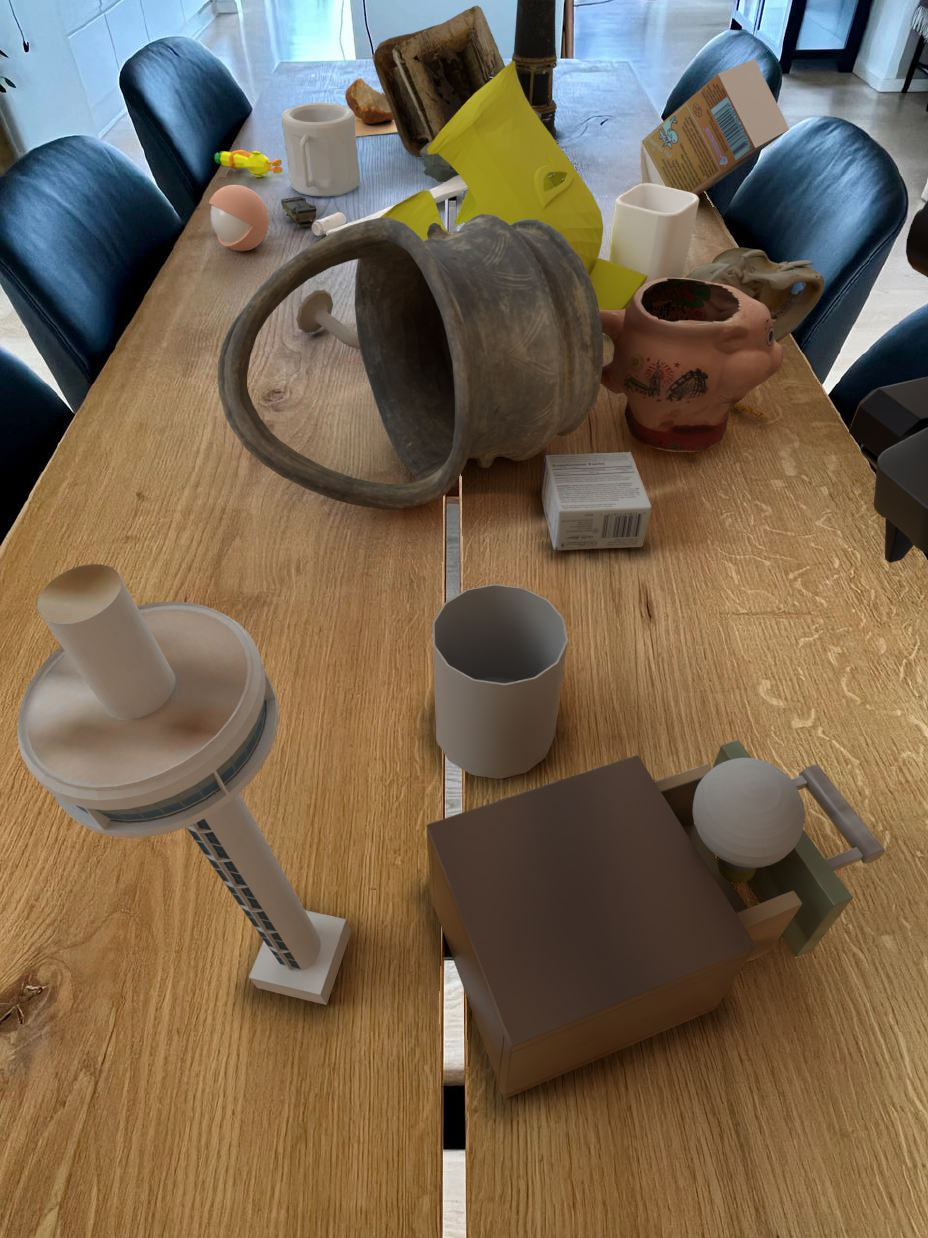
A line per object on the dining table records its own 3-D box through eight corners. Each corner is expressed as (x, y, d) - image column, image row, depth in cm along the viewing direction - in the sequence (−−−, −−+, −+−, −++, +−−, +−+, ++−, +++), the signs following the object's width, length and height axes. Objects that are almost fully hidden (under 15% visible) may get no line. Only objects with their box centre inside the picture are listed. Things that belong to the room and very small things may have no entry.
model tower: (207, 1018, 46) (-129, 681, 23) (266, 876, 51) (39, 492, 29) (349, 1055, 44) (132, 727, 21) (396, 903, 49) (260, 515, 27)
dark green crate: (277, 198, 121) (280, 216, 122) (292, 210, 115) (295, 229, 117) (302, 194, 122) (304, 213, 124) (318, 206, 116) (320, 225, 118)
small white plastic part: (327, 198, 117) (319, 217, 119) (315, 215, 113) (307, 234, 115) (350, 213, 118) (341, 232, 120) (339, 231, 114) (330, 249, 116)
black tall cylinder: (550, 125, 150) (566, -93, 128) (560, 141, 144) (579, -85, 122) (501, 126, 149) (508, -93, 127) (509, 143, 143) (518, -84, 121)
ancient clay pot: (621, 205, 62) (225, 281, 51) (612, 489, 75) (297, 594, 65) (478, 179, 78) (155, 232, 68) (492, 415, 92) (225, 490, 81)
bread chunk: (416, 130, 147) (381, 72, 139) (365, 170, 150) (328, 115, 142) (400, 103, 157) (366, 48, 149) (352, 142, 159) (317, 89, 152)
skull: (842, 222, 86) (751, 212, 94) (719, 293, 81) (634, 276, 89) (837, 328, 93) (753, 310, 102) (724, 400, 88) (645, 374, 96)
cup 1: (489, 801, 55) (494, 708, 47) (411, 723, 59) (404, 627, 52) (578, 731, 58) (595, 635, 51) (498, 663, 63) (503, 566, 55)
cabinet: (617, 831, 53) (638, 754, 47) (716, 1009, 46) (757, 946, 39) (430, 897, 50) (425, 824, 44) (504, 1100, 43) (511, 1047, 36)
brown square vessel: (367, 110, 125) (331, 141, 143) (499, 185, 137) (451, 205, 154) (413, -41, 122) (371, 9, 140) (544, 49, 134) (490, 84, 151)
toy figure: (293, 175, 133) (237, 165, 138) (291, 150, 131) (234, 141, 136) (265, 182, 129) (208, 172, 133) (262, 156, 127) (204, 146, 131)
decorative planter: (558, 462, 80) (572, 325, 70) (554, 393, 88) (567, 262, 78) (768, 469, 79) (814, 331, 69) (745, 399, 88) (782, 267, 77)
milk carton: (789, 129, 118) (687, 205, 134) (754, 58, 116) (654, 143, 131) (755, 147, 112) (652, 225, 128) (717, 73, 110) (618, 161, 126)
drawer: (776, 777, 55) (808, 715, 50) (883, 921, 48) (931, 866, 43) (550, 857, 51) (559, 798, 46) (632, 1027, 44) (653, 979, 39)
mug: (303, 170, 133) (294, 98, 126) (368, 175, 132) (363, 103, 125) (274, 201, 124) (262, 126, 117) (343, 207, 123) (336, 132, 116)
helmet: (522, 106, 97) (660, 317, 94) (357, 225, 101) (485, 432, 98) (505, 7, 81) (670, 256, 79) (310, 152, 85) (462, 396, 82)
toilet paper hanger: (345, 378, 93) (347, 338, 89) (296, 339, 96) (296, 298, 92) (493, 304, 106) (501, 266, 102) (446, 271, 109) (452, 232, 104)
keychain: (766, 418, 85) (767, 409, 84) (760, 423, 84) (761, 414, 83) (701, 393, 89) (702, 384, 88) (695, 397, 89) (696, 389, 88)
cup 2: (678, 328, 98) (705, 195, 87) (649, 354, 94) (673, 217, 83) (623, 311, 101) (642, 180, 90) (593, 335, 97) (609, 200, 86)
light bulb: (668, 852, 50) (674, 765, 42) (746, 813, 51) (765, 721, 43) (722, 934, 46) (739, 855, 39) (805, 891, 47) (837, 805, 40)
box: (644, 549, 71) (624, 491, 77) (653, 507, 68) (631, 449, 74) (552, 553, 71) (539, 494, 77) (557, 510, 68) (543, 452, 74)
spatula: (320, 230, 114) (325, 248, 116) (339, 230, 112) (344, 249, 113) (458, 170, 128) (462, 187, 129) (478, 169, 125) (481, 186, 127)
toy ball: (203, 247, 114) (190, 185, 108) (251, 231, 117) (240, 171, 112) (236, 265, 110) (224, 202, 104) (284, 248, 113) (275, 187, 108)
